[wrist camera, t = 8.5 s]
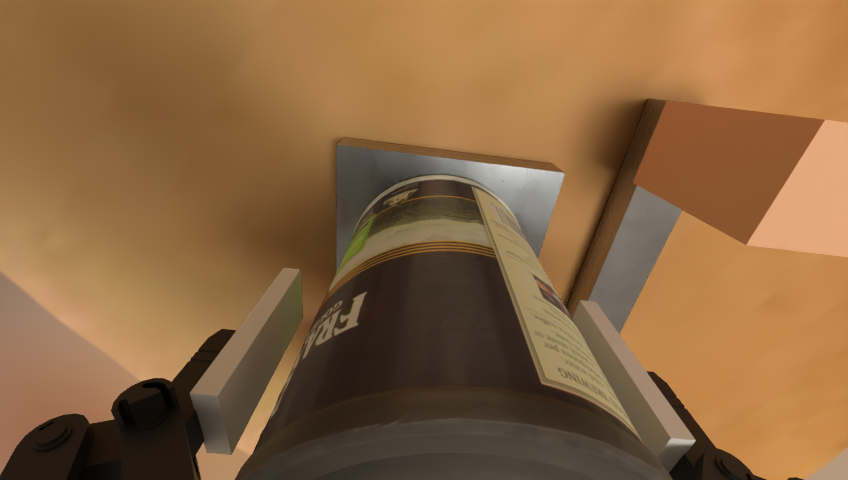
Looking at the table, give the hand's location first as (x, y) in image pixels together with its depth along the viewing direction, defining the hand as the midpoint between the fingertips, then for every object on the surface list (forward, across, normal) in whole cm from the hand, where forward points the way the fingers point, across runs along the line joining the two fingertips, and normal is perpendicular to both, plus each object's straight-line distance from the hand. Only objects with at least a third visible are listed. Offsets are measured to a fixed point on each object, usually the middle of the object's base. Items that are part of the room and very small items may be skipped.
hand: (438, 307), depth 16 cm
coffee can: (+5, 0, 0) cm, 5 cm away
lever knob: (+4, +11, +8) cm, 15 cm away
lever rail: (+7, +12, +2) cm, 13 cm away
